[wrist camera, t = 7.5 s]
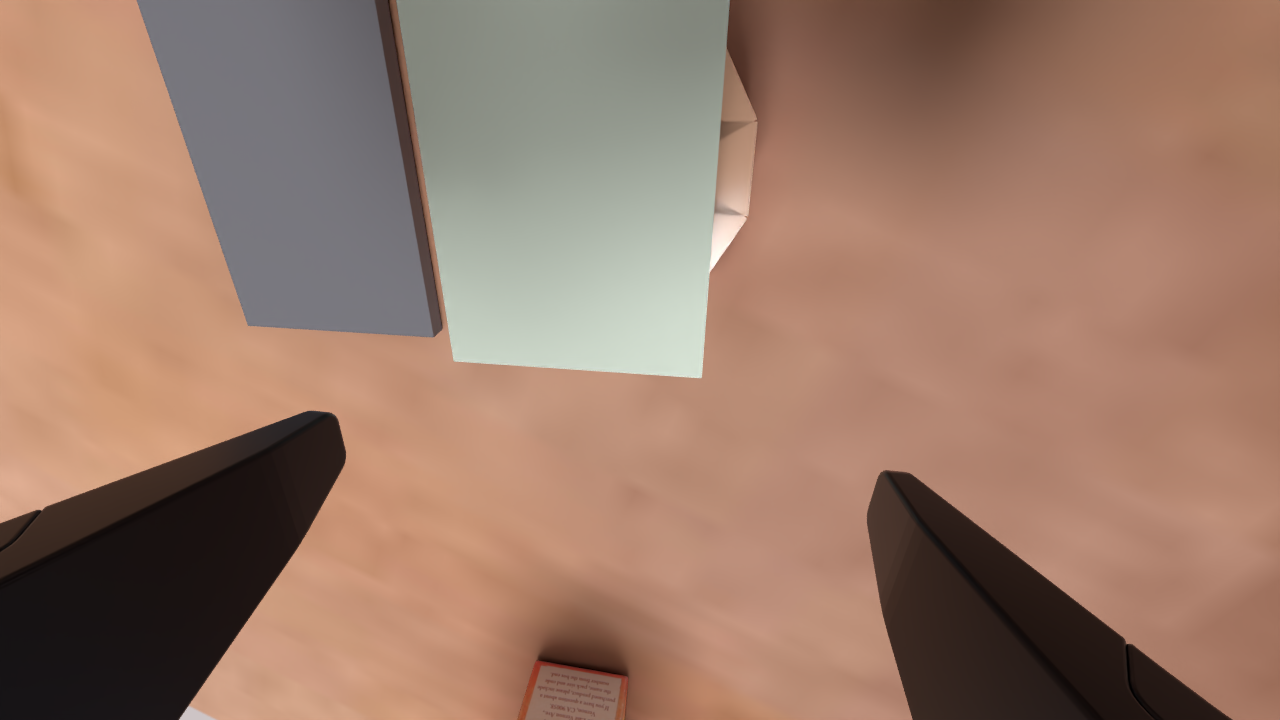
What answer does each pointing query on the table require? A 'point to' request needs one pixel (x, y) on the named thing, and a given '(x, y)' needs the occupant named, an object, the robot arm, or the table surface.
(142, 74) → the table surface
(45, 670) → the robot arm
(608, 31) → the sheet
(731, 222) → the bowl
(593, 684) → the cracker box
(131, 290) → the table surface
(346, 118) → the mat
